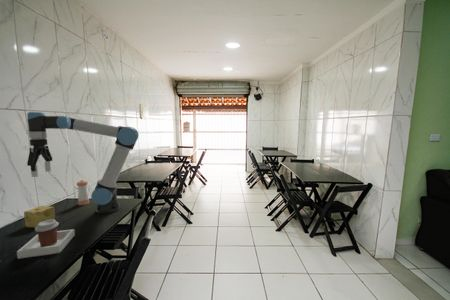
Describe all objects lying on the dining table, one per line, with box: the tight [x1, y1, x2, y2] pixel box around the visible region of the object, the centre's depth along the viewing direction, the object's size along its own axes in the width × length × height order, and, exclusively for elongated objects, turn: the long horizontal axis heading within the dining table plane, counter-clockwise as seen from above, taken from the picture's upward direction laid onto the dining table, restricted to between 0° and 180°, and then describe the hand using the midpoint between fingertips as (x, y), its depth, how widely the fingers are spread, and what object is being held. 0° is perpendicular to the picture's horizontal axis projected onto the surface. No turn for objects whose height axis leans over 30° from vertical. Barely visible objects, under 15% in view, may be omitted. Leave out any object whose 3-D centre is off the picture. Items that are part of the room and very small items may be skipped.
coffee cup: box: [34, 219, 60, 247], centre depth 103 cm, size 9×9×12 cm
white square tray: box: [16, 228, 76, 260], centre depth 103 cm, size 17×17×4 cm
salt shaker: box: [76, 179, 90, 206], centre depth 158 cm, size 7×7×19 cm
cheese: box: [23, 205, 56, 229], centre depth 126 cm, size 10×11×10 cm
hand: (42, 173), depth 121 cm, fingers open, 13 cm apart
